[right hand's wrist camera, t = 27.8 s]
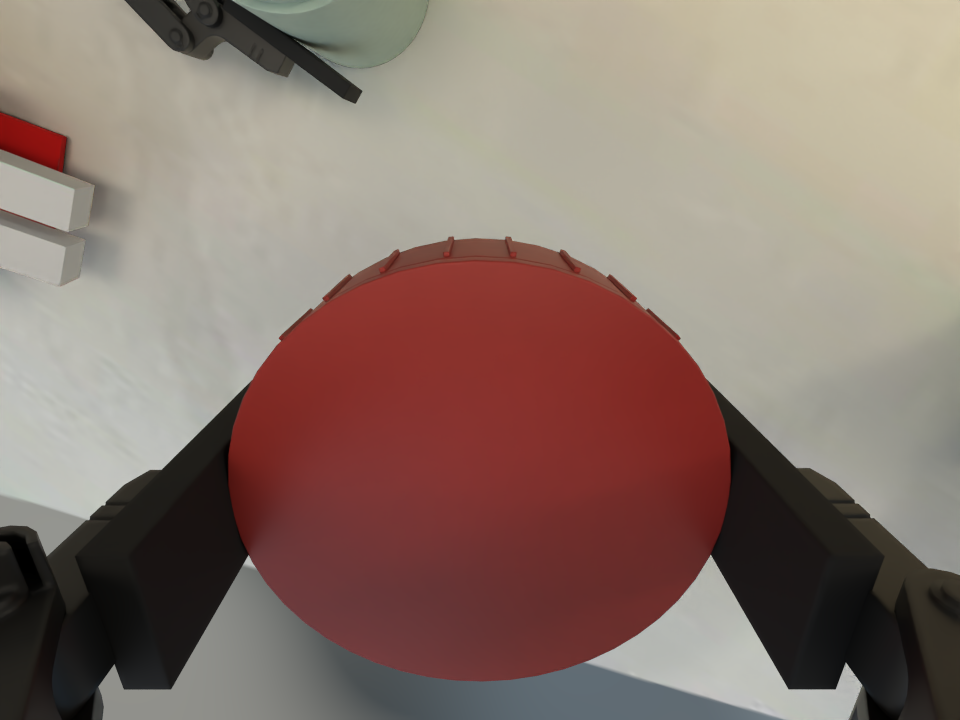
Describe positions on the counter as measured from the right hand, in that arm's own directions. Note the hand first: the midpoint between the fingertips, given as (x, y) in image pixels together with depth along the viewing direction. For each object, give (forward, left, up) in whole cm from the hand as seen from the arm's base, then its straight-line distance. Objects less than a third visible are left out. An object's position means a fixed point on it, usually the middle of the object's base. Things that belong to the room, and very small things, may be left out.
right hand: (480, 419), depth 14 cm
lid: (0, 0, +3) cm, 3 cm away
